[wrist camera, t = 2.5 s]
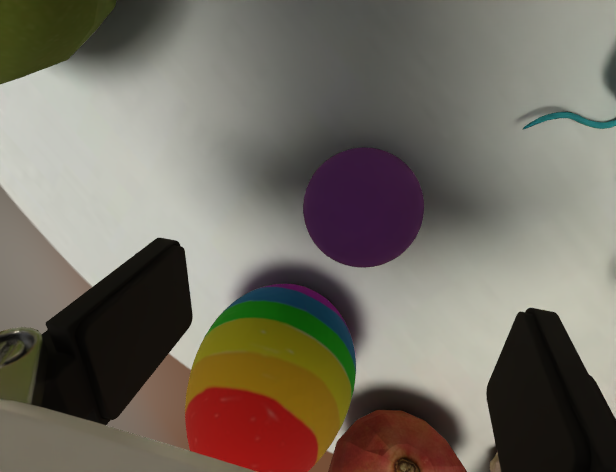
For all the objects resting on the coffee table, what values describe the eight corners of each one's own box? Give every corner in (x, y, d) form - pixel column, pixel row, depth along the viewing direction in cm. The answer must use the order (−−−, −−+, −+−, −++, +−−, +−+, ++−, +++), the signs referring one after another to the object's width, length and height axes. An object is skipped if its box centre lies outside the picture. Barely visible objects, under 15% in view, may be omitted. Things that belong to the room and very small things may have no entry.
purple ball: (321, 128, 17) (289, 160, 13) (433, 141, 16) (439, 180, 12) (315, 224, 19) (286, 278, 15) (412, 240, 19) (410, 302, 14)
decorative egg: (217, 324, 25) (113, 477, 16) (267, 238, 20) (160, 384, 12) (321, 387, 25) (272, 569, 17) (391, 314, 21) (374, 510, 12)
